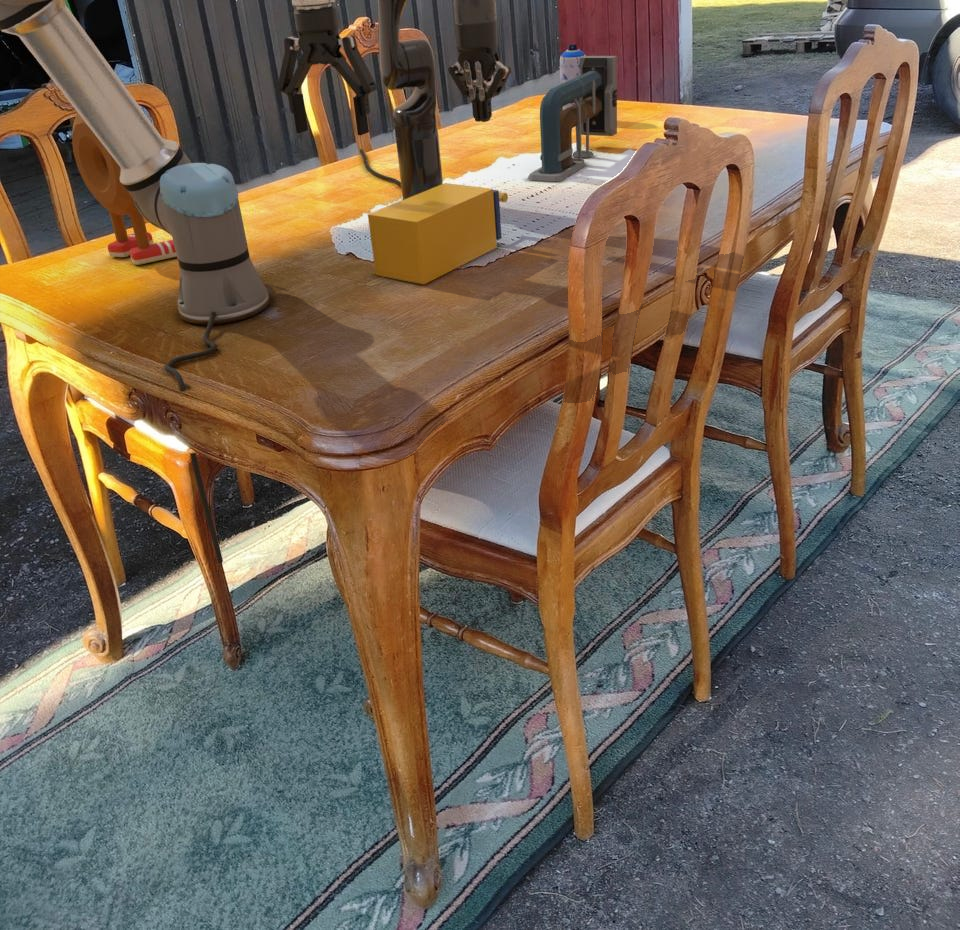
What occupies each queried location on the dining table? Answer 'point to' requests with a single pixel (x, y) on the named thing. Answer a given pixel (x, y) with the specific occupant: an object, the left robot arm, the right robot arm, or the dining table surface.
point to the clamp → (577, 117)
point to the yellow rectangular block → (432, 232)
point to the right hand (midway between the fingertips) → (482, 120)
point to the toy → (115, 198)
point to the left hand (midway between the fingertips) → (332, 132)
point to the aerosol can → (570, 66)
